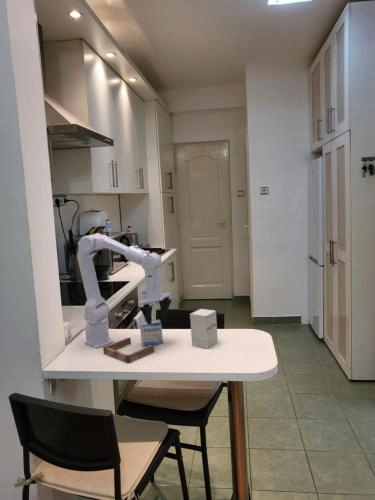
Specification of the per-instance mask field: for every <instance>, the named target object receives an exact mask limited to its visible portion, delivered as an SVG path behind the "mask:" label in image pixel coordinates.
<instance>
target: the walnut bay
mask: <svg viewBox="0 0 375 500" xmlns="http://www.w3.org/2000/svg"><path fill="white" fill-rule="evenodd" d="M129 344H130V345H132V340H131V338H130V337H127V338H123V339H121V340H118V341H116V342H112V343H110V344H107V345H104V346H102V350H103V354H104V355H105V356H109V357H112V358H113V357H114V358H113V359H116V360H118V359H120V360H119V361H121V360H122V361H121V362H123V361H125V362H124V363H126V362H127V364H128V363H129V364H131V363H133V362H135V360H136V361H138V360H140V359H143V358H144V357H147V356H149V355H151V354H154V353H155V345H151V346H145V347H144V348H141V349H140V350H137V351H134V352H131V353H130V354H127V353H124V352H122V351H118V350H120V349H122V348H121V347H123V348H125V347H127V346H126V345H128V346H130V345H129ZM124 346H125V347H124ZM119 348H120V349H119ZM117 349H118V350H117ZM153 352H154V353H153ZM137 359H138V360H137ZM132 361H133V362H132ZM130 362H131V363H130Z"/></svg>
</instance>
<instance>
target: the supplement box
mask: <svg viewBox="0 0 375 500" xmlns="http://www.w3.org/2000/svg"><path fill="white" fill-rule="evenodd" d="M189 319H190V322H189V323H190V332H191V333H190V336H191V345H192V346H194V347H198V348H203V349H209V348H210V347H211V346H213V345H215V344H217V343H218V342H219V341H218V338H219V337H218V325H217V324H218V323H217V311H216V310H213V309H205V308H199V309H198V310H195V311H193V312H191V313H189Z"/></svg>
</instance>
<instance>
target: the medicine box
mask: <svg viewBox="0 0 375 500" xmlns="http://www.w3.org/2000/svg"><path fill="white" fill-rule="evenodd" d="M139 330H140V341H141V344H142V346H143V347H144V346H145V347H148V346H149V345H153V346H155V345H154V344H156V345H160V344H163V343H164V342H163V341H164V339H163V328H162V321H161V320H160V319H154V320H153V319H152V324H147V322H146V321H141V322H140V321H139Z"/></svg>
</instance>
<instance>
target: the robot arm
mask: <svg viewBox="0 0 375 500" xmlns="http://www.w3.org/2000/svg"><path fill="white" fill-rule="evenodd" d="M77 245H78V250H77V257H76V259H77V262H78V266H79V270H80V275H81V279H82V284H83V288H84V292H85V297H86V301H85V304H84V315H83V317H84V320H85V321H86V324H85V326H84V328H85V329H84V330H85V338H86V341H84V344H85V345H88V346H92V347H94V348H96V349H98V348H99V349H100V348H101V347H102V348H103V347H105V346H108V345H111V344H113V343H115V341H114V340H113V339H110V334H109V324H108V316H109V315H110V308H109V305H108V304H107V302H106V299H105V298H104V297H102V295H101V290H100V287H99V283H98V278H97V273H96V269H95V264H94V260H93V258H94V257H95V255H96V254H97V253H98V252H99V251H100V250H103V249H108V250H110V251H113V252H115V253H118V254H121V255H122V256H125V259H126V260H127V261H130V262H132V263H134V264H136V265H138V266H141V268H142V269H143V270H144V277H145V289H146V297H144V298H143V299H141V300H138V301H137V304H138V305H137V306H138V308H139V309H140V311H141V313H142V314H143V316H144V319H145V322H147V324H152V321H153V318H152V311H153V306H151V305H152V304H155V303H159V304H158V305H159V307H160V308H159V309H160V314H161V318H162V319H167V318H168V312H169V308H170V305H171V303H172V295H171V294H172V293H171V292H163V289H162V277H161V276H162V275H161V265H162V262H163V261H162V257H161V256H160V254H158V253H157V252H150V250H144V249H143V248H139V245H130V246H127V245H126V244H123V243H121V242H119V241H117V240H115V239H114V238H113V239H112V238H111V237H109V236H108V235H105V234H102V233H100V232H96V233H93V234H89V235H83V236H82V237H81V238H80V239H79V241H78V242H77Z"/></svg>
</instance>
